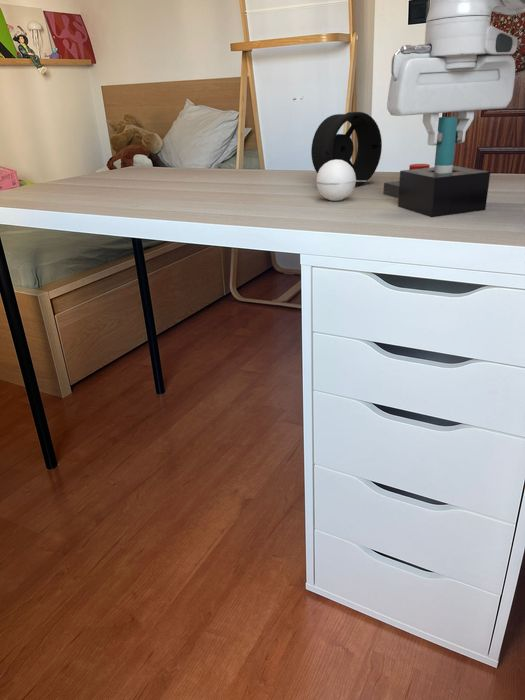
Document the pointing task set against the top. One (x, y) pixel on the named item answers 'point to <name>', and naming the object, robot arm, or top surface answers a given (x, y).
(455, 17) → the robot arm
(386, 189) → the block
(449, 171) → the teal and grey cylinder
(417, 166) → the power button
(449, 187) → the black block with hole
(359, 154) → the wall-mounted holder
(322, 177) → the seamed sphere
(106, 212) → the top surface
